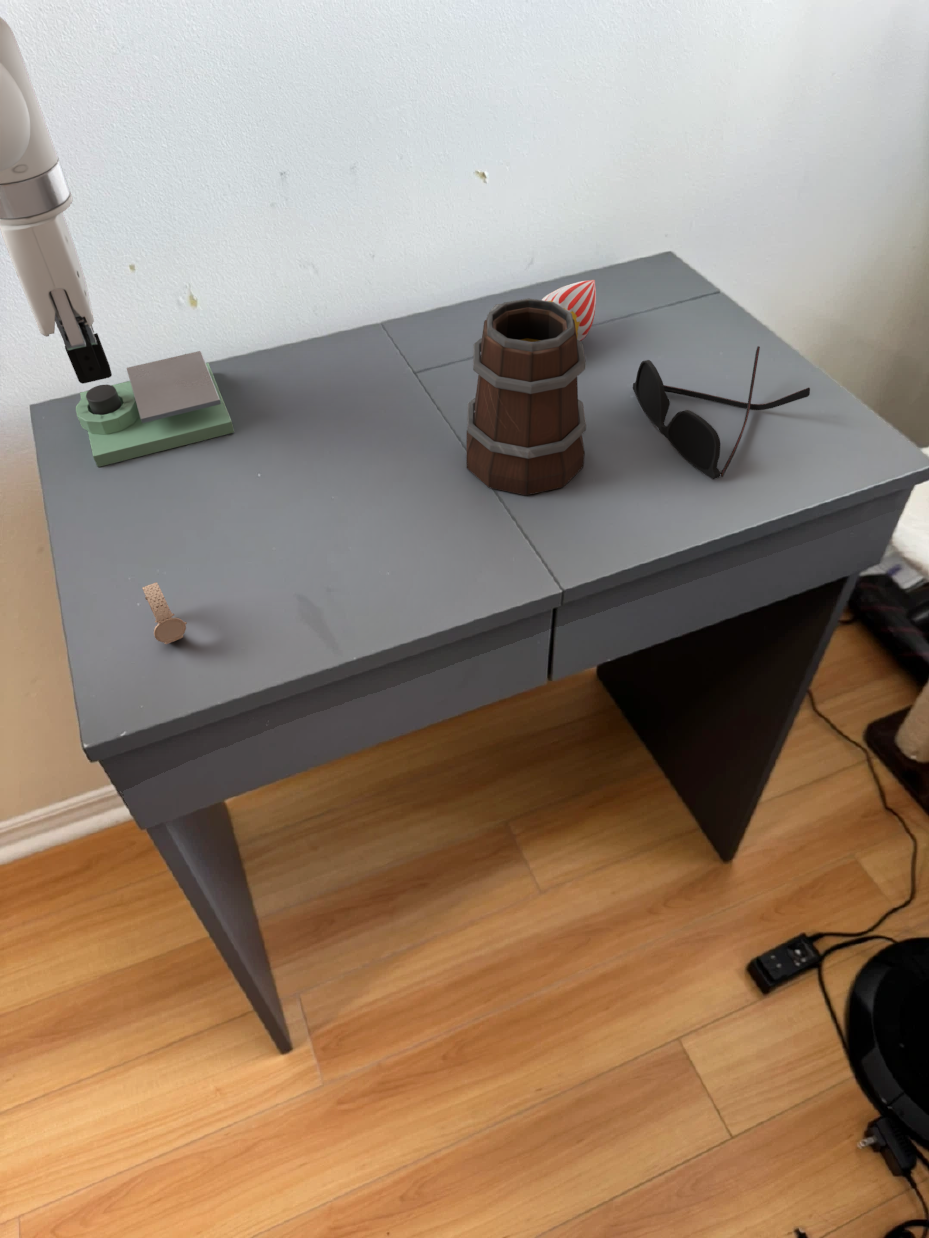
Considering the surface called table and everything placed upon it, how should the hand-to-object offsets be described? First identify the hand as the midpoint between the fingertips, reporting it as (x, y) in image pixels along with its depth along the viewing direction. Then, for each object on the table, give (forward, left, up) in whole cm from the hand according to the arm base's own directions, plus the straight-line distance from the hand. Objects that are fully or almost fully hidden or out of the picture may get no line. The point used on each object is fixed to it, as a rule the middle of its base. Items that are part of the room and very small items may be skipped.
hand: (95, 376), depth 88 cm
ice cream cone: (+47, -6, -6) cm, 48 cm away
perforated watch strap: (0, -31, -6) cm, 32 cm away
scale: (+4, 0, -6) cm, 8 cm away
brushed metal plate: (+7, 0, -3) cm, 8 cm away
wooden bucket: (+37, -20, -6) cm, 43 cm away
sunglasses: (+58, -25, -6) cm, 64 cm away
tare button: (0, 0, -4) cm, 4 cm away
